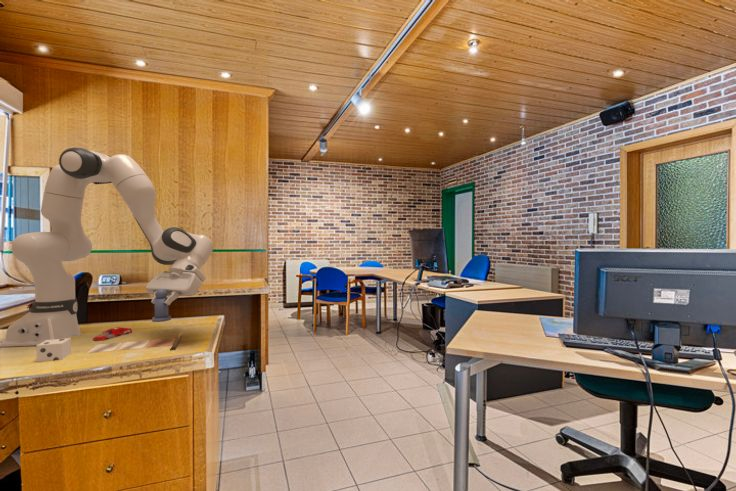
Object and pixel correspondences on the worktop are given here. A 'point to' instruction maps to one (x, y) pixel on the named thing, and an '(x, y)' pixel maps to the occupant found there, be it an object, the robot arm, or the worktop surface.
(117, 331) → the race car
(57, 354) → the die
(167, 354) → the worktop surface
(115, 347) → the board
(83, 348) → the worktop surface
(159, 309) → the pawn
